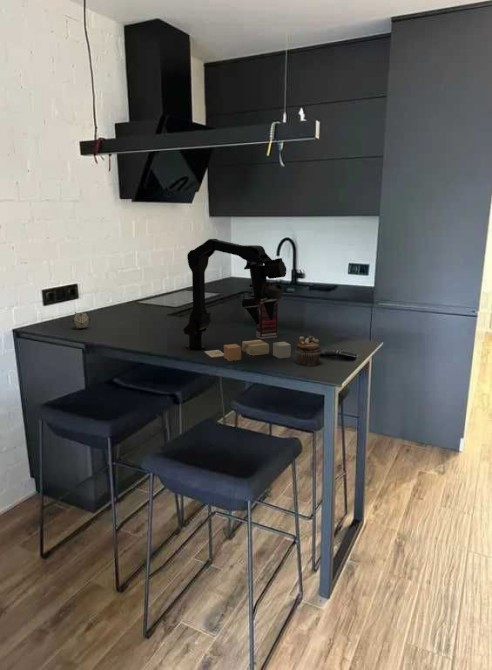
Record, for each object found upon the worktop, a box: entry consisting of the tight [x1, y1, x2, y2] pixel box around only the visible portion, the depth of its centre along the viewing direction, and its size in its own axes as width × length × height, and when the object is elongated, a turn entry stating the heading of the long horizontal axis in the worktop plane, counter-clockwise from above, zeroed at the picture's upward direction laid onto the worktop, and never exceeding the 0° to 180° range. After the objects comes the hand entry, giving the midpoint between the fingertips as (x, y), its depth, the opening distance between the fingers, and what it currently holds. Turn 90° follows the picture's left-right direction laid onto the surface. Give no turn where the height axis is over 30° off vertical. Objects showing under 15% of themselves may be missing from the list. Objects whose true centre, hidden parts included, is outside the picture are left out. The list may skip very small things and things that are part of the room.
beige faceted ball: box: [71, 311, 91, 330], centre depth 223 cm, size 9×8×10 cm
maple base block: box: [241, 339, 270, 356], centre depth 189 cm, size 8×8×4 cm
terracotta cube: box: [223, 343, 242, 362], centre depth 179 cm, size 5×5×5 cm
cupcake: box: [295, 334, 322, 367], centre depth 175 cm, size 10×10×10 cm
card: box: [203, 349, 224, 358], centre depth 185 cm, size 8×6×1 cm
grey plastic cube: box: [272, 341, 292, 359], centre depth 183 cm, size 5×5×5 cm
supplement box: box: [255, 301, 279, 340], centre depth 211 cm, size 9×5×16 cm, turn 113°
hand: (265, 322), depth 176 cm, fingers open, 9 cm apart
